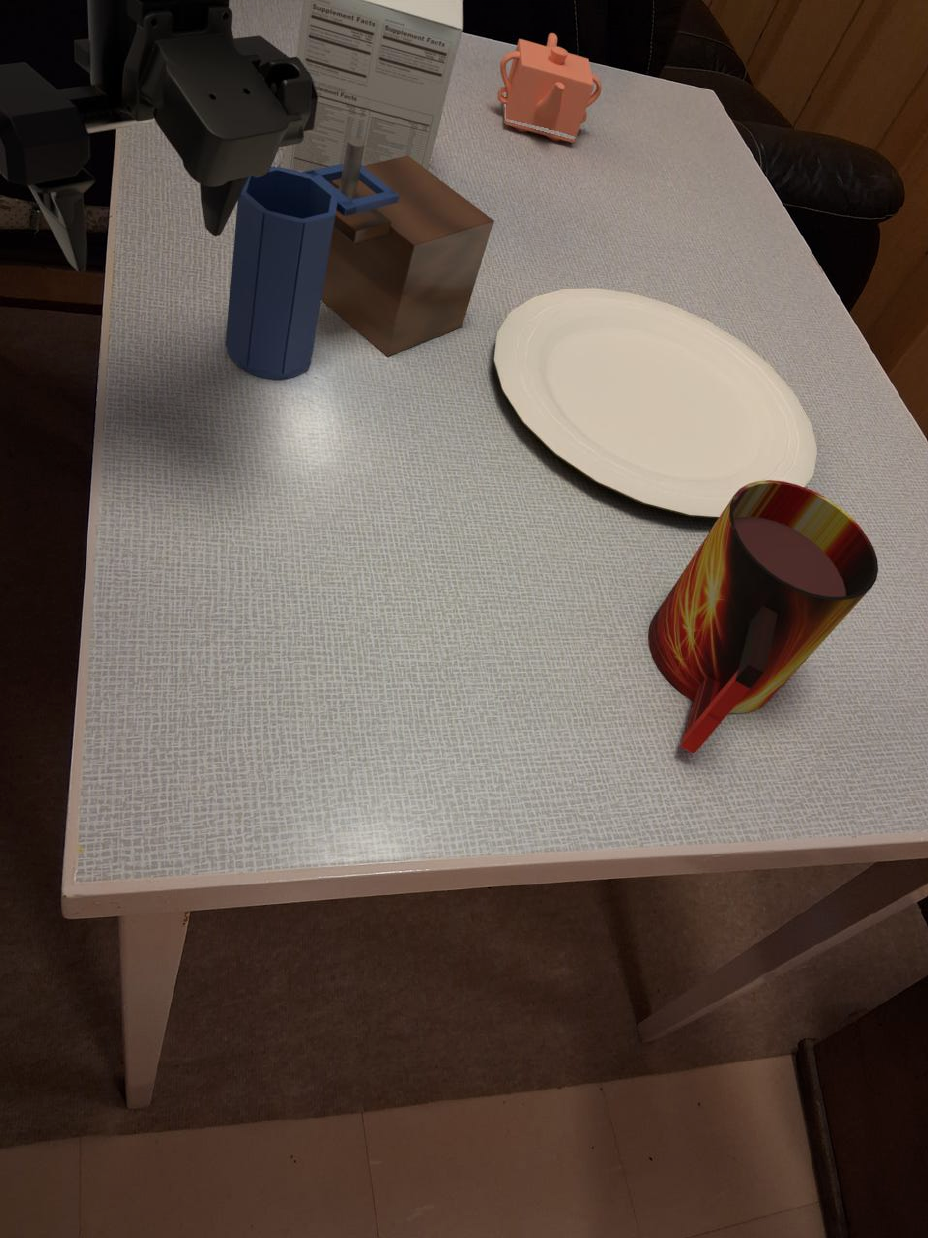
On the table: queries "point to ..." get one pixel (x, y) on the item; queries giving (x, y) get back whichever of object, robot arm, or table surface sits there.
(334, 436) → the table surface
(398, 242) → the hook box
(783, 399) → the plate
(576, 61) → the teapot
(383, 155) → the supplement box
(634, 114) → the table surface
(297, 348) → the measuring cup
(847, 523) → the mug
